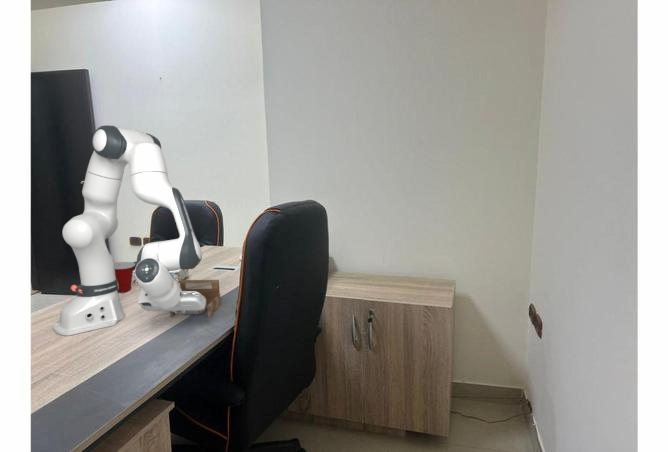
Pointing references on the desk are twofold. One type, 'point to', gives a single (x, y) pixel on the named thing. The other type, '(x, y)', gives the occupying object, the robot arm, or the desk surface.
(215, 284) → the display bay
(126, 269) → the plastic cup
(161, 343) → the desk surface
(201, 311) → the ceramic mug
